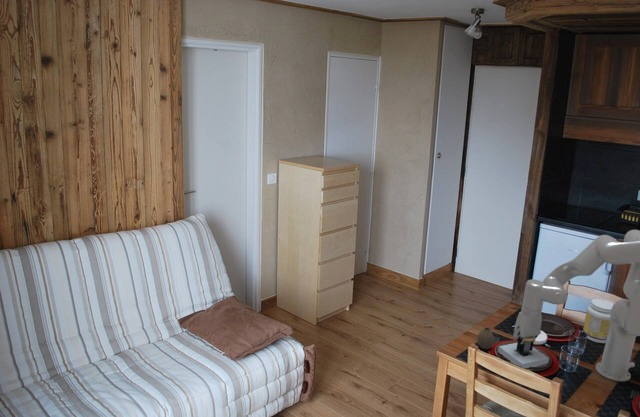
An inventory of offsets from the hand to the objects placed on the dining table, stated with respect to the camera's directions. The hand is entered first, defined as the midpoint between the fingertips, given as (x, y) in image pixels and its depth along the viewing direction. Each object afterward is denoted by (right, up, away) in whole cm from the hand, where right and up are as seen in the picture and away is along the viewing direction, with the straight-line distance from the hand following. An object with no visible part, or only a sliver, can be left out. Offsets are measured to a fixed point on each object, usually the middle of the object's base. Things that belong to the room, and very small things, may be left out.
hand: (524, 349), depth 222 cm
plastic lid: (+10, -1, +21) cm, 23 cm away
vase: (-13, -2, +11) cm, 17 cm away
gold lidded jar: (0, -3, +1) cm, 3 cm away
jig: (0, -5, +1) cm, 5 cm away
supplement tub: (+43, -1, +25) cm, 49 cm away
